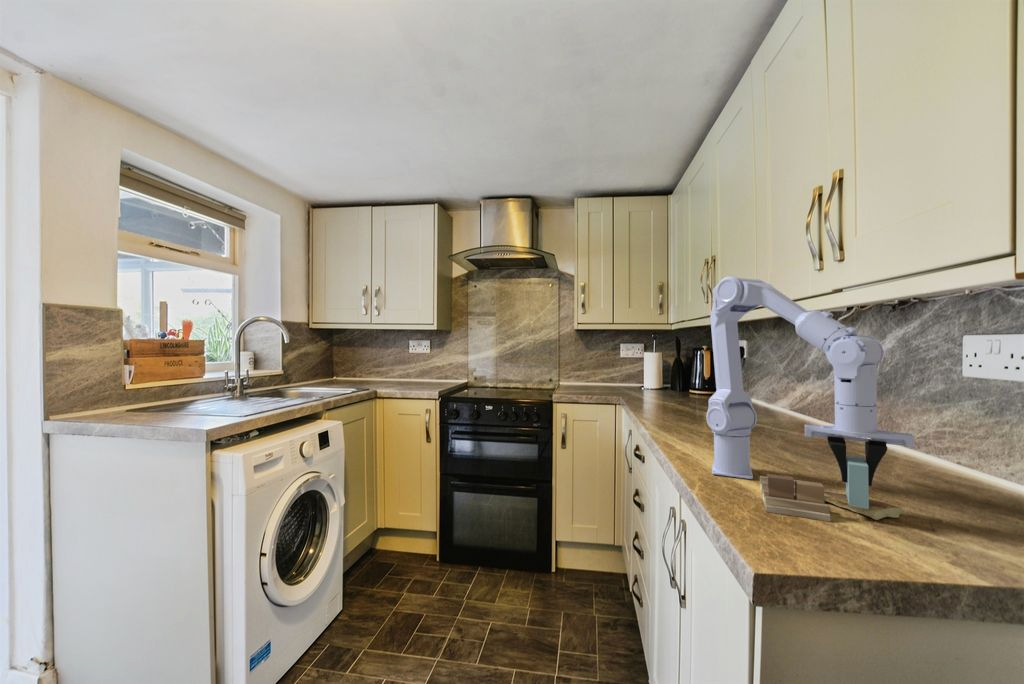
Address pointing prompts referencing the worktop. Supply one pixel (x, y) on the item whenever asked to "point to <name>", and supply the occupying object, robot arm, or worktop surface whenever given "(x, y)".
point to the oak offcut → (809, 492)
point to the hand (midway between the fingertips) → (856, 482)
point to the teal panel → (857, 482)
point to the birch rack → (793, 505)
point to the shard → (874, 511)
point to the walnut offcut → (780, 486)
